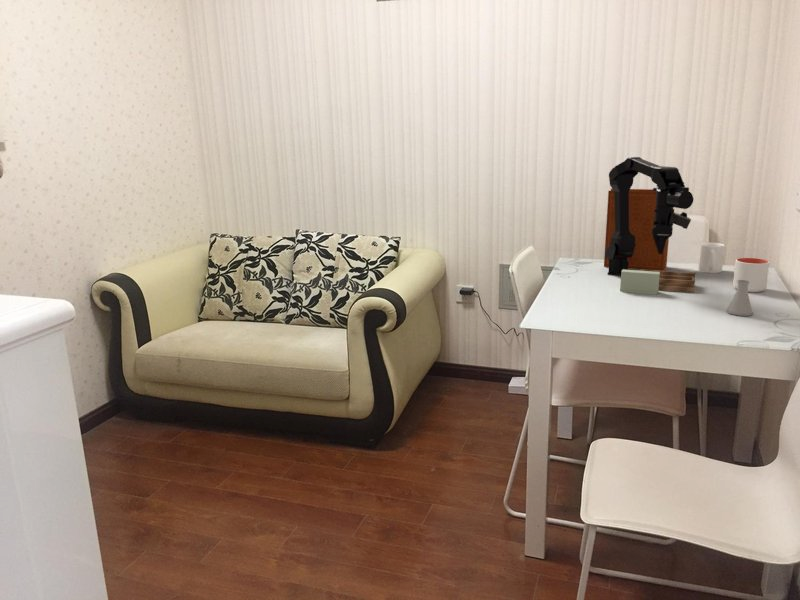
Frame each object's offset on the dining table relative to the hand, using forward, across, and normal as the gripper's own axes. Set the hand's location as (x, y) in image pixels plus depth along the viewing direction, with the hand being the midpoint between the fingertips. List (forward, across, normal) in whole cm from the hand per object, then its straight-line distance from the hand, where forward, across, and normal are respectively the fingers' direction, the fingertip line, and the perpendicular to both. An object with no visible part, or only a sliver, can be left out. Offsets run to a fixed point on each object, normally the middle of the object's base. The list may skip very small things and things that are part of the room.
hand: (660, 251), depth 227 cm
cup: (+13, +7, -29) cm, 32 cm away
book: (+13, +33, +9) cm, 37 cm away
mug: (+13, +31, -18) cm, 38 cm away
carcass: (+13, +2, -3) cm, 13 cm away
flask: (+13, -25, -24) cm, 37 cm away
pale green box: (+13, -7, +6) cm, 16 cm away
